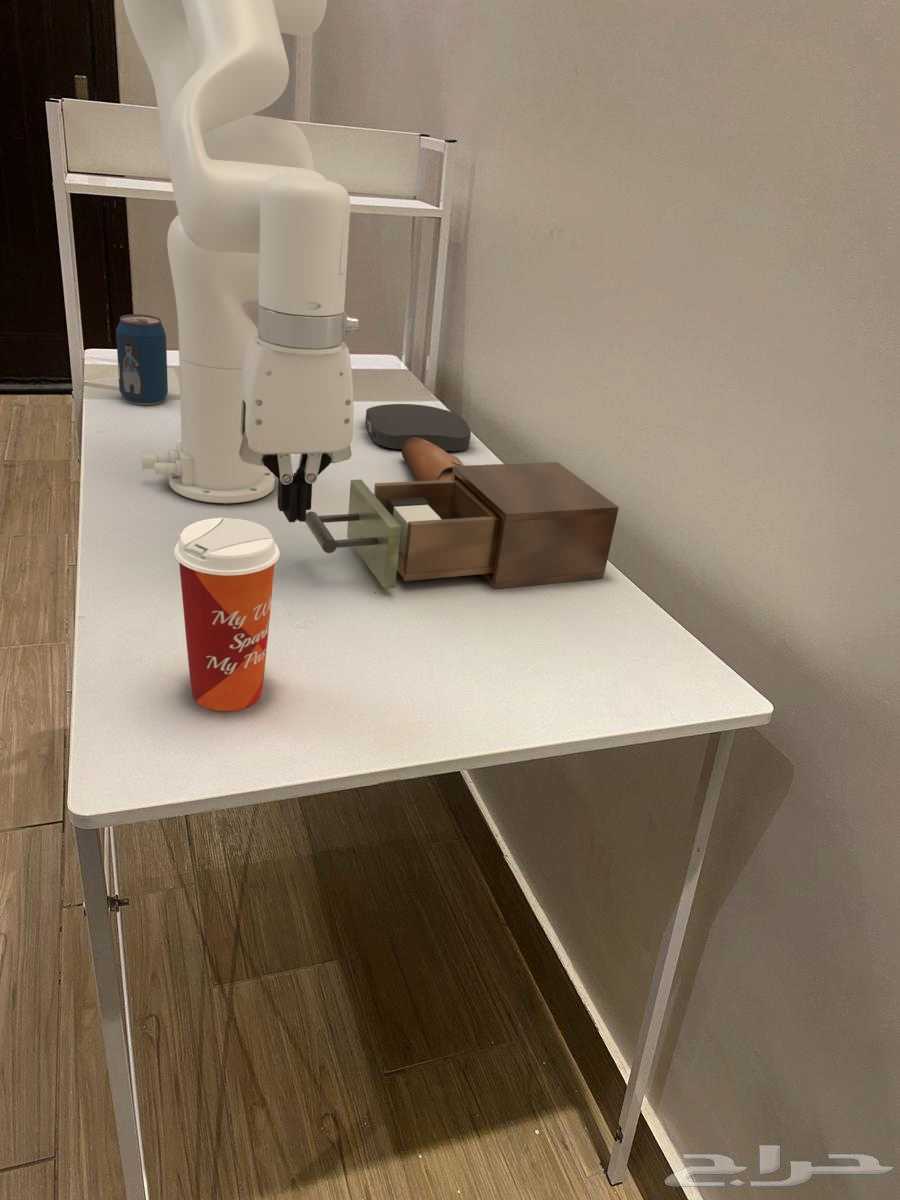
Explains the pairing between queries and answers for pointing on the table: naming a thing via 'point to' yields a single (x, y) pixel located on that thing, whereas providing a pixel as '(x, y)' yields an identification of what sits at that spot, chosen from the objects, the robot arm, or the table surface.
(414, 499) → the eraser
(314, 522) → the drawer
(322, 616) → the table surface
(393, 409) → the media streaming box
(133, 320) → the soda can
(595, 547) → the cabinet
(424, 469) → the sunglasses case
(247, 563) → the paper cup
